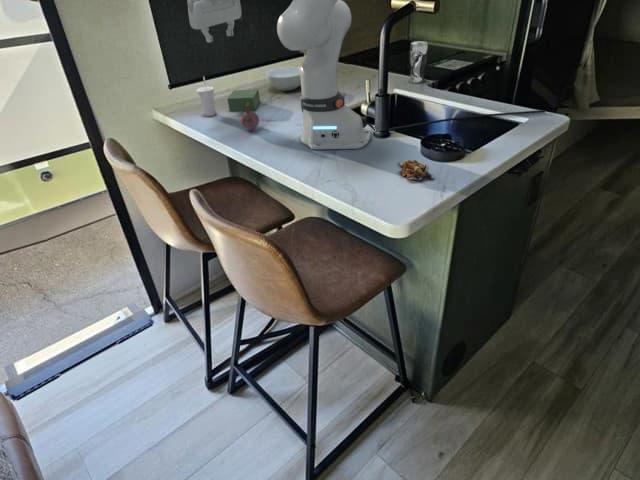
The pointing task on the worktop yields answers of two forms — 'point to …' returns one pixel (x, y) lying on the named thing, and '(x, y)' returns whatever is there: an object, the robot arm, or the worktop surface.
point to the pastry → (414, 169)
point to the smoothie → (207, 99)
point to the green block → (243, 100)
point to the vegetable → (249, 119)
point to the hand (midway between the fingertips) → (220, 38)
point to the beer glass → (418, 61)
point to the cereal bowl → (284, 78)
